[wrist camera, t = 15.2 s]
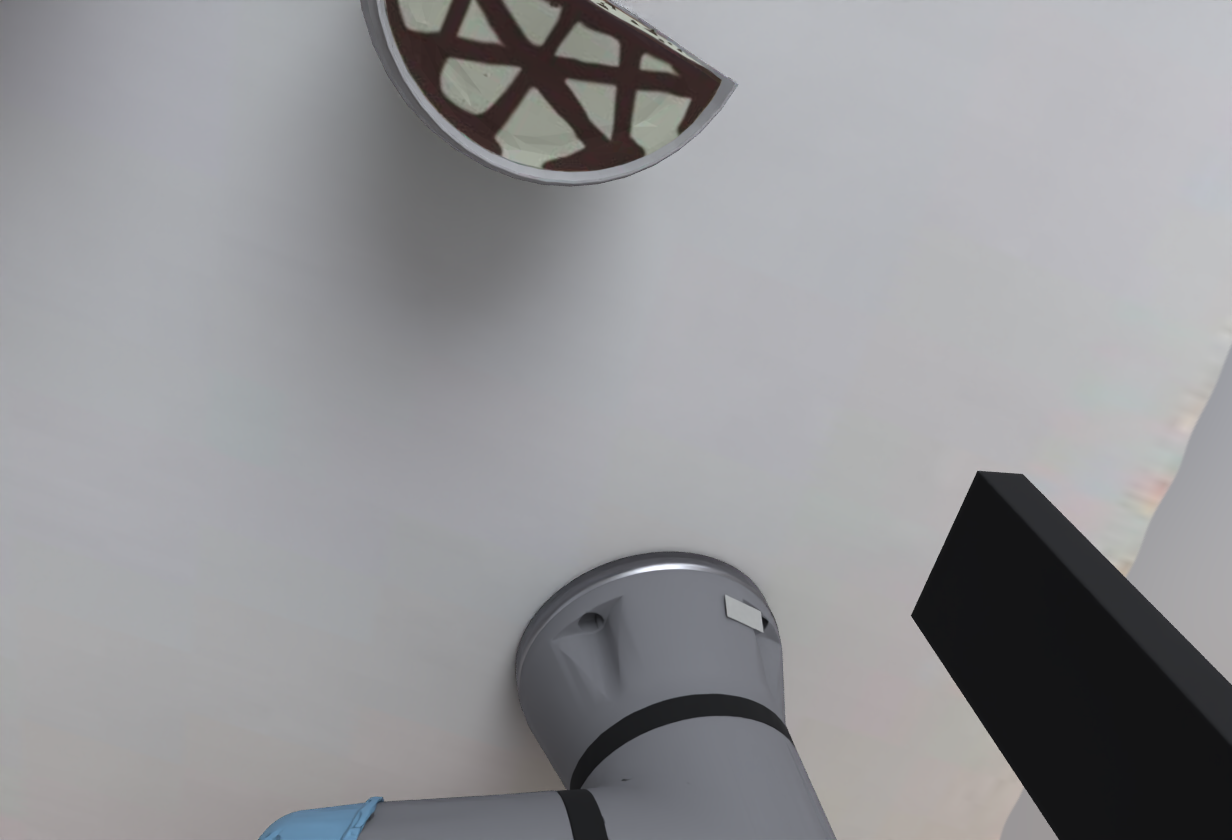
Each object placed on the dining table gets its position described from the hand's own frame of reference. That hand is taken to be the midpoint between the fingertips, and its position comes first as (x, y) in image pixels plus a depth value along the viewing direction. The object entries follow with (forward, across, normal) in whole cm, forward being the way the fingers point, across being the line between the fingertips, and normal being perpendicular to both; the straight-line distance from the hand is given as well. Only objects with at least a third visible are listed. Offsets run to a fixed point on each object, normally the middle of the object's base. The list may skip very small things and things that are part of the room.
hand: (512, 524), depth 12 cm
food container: (+29, -2, -2) cm, 29 cm away
